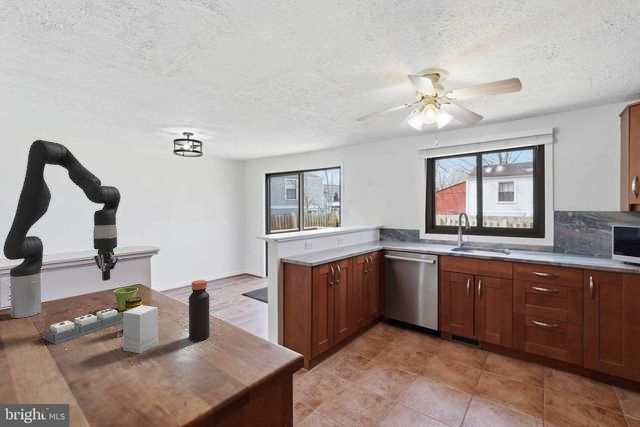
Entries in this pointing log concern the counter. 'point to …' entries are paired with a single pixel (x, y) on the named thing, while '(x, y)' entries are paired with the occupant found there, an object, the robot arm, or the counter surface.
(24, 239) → the robot arm
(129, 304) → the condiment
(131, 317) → the supplement box
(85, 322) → the tile two
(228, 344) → the counter surface
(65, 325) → the tile one
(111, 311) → the tile three
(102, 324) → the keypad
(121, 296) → the plant pot
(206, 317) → the bottle
